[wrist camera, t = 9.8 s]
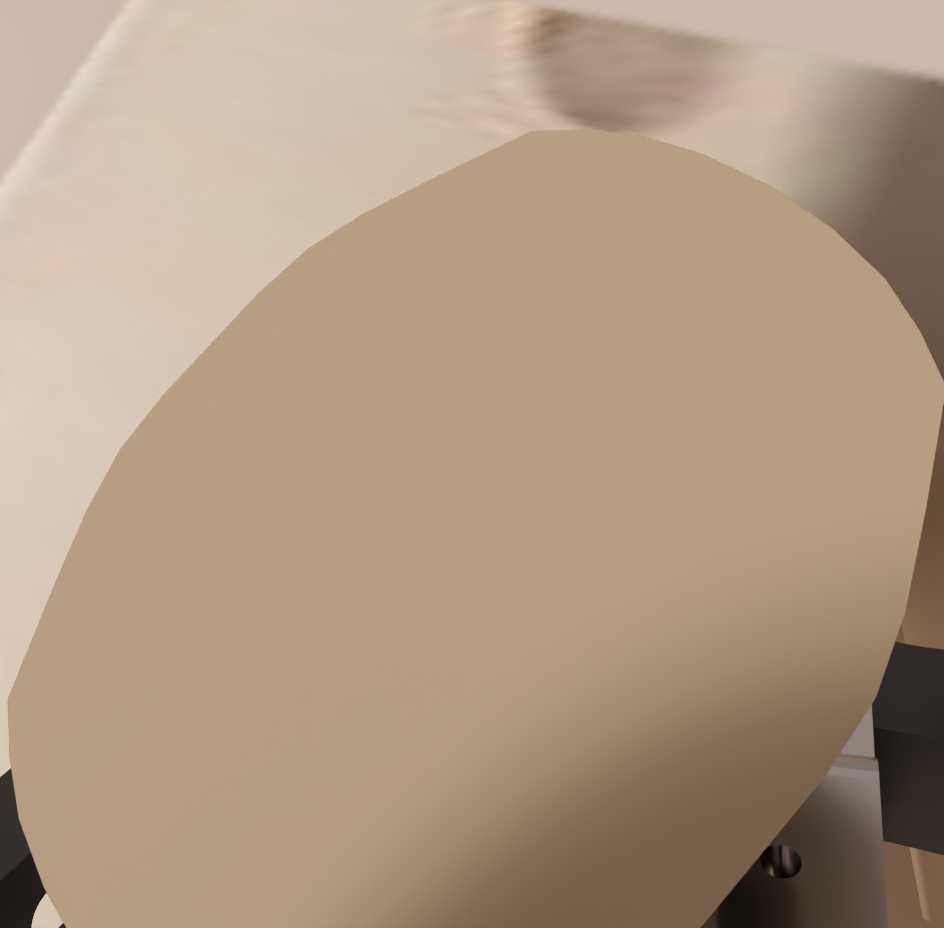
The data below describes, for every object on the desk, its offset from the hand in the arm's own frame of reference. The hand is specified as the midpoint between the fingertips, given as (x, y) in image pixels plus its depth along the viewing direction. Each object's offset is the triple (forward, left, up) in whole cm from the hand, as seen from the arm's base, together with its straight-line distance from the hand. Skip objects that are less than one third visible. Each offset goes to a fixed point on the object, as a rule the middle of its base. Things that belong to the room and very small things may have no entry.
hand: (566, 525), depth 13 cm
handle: (0, +2, -8) cm, 8 cm away
